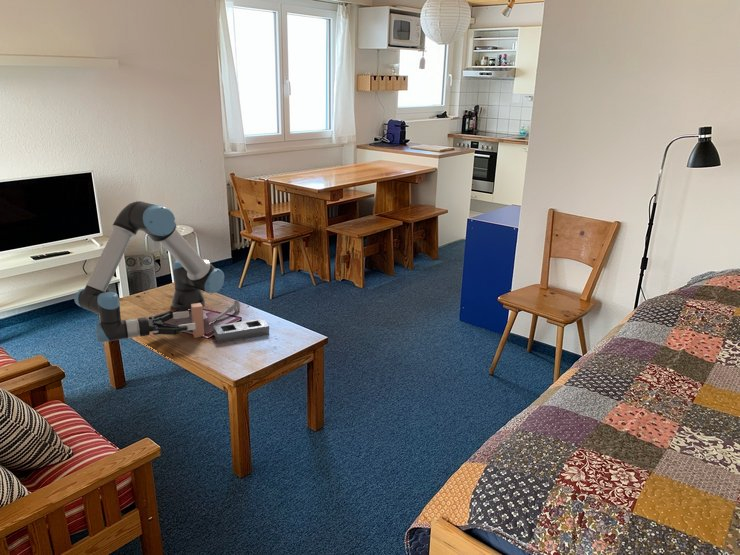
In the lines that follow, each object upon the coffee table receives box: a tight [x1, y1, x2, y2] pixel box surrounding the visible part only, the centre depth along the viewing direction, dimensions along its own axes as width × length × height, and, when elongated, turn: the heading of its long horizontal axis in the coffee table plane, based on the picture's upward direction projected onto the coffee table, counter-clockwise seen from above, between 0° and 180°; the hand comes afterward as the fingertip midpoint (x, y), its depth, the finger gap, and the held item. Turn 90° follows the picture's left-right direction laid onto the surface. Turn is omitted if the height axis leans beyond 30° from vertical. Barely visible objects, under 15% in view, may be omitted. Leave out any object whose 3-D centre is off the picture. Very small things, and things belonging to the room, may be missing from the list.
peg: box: [190, 303, 205, 339], centre depth 240 cm, size 4×4×14 cm
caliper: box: [209, 299, 241, 323], centre depth 261 cm, size 20×1×6 cm, turn 152°
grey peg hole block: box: [212, 318, 270, 344], centre depth 245 cm, size 9×22×4 cm, turn 118°
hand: (192, 319), depth 239 cm, fingers open, 13 cm apart
